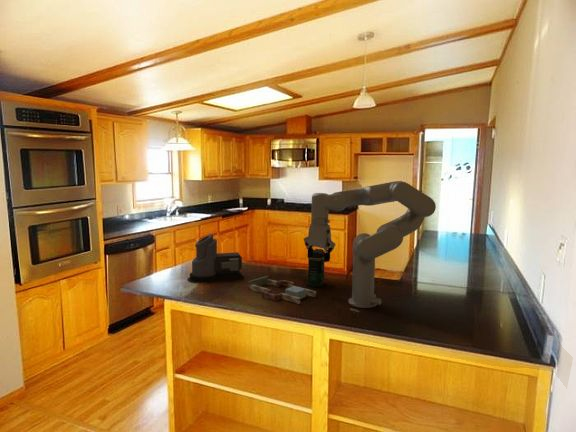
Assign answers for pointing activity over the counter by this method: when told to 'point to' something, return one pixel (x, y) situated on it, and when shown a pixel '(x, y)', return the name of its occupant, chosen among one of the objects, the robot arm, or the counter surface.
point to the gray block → (296, 292)
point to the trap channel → (268, 294)
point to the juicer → (214, 263)
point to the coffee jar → (316, 268)
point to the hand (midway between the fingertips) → (318, 259)
